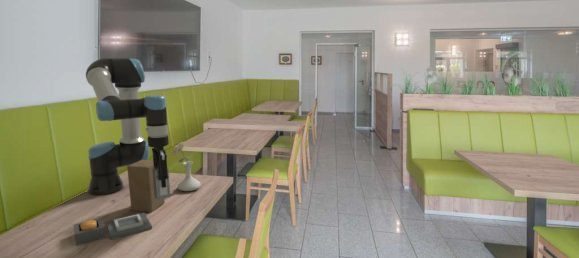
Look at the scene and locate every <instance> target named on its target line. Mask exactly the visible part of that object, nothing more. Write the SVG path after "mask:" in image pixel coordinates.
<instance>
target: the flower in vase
mask: <svg viewBox="0 0 579 258" xmlns="http://www.w3.org/2000/svg"><path fill="white" fill-rule="evenodd" d="M184 146H185V142H183V141H180V142H178V144H177V146H174V150H173V152H172V155H173V156H177V155H179V154H180V153H182V156H183V157H181V158H180V159H179V160H178V163H182V165H183V166H184V168H185V177H184V178H183V180H181V181H180V182H179V183H178V184H177V187H176V188H177V189H178V190H179V191H182V192H183V191H184V192H190V191H194V190H195V191H196V190H199V188H200V187H201V186H202V184H201V182H200V181H199V180H197V179H196V178H194V177H193V176H192V172H191V168H192V165H193V163H194V162H193V161H192V160H191V158H192V156H191V154H190V153H189V154H188V155H187V156H185V154H184V152H183V149H184ZM184 160H185V161H184ZM189 160H191V161H189ZM183 161H184V162H183Z"/></svg>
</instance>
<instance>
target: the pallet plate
mask: <svg viewBox="0 0 579 258" xmlns="http://www.w3.org/2000/svg"><path fill="white" fill-rule="evenodd" d="M106 227H107V231H108V234H109V237H110V240H114V239H118V238H121V237H125V236H130V235H133V234H137V233H142V232H146V231H149V230H152V229H153V226H152V224H151V222H150V219H148V216H147V215H146V212H142V213H137V214H133V215H128V216H124V217H121V218H120V217H119V218H115V219H111V220H107V221H106Z"/></svg>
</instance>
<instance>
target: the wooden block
mask: <svg viewBox="0 0 579 258" xmlns="http://www.w3.org/2000/svg"><path fill="white" fill-rule="evenodd" d="M152 167H154V165H153V159H152V160H151V159H150V160H149V159H147V160H140V161H138V162H136V163H133V164H131V165H129V166H126V168H127V178H128V179H127V180H128V189H129V197H130V209H131V211H136V212H143V213H146V212H147V213H153V212H154V211H156V210H157V209H158V208H160V207H161V206H162V205H165V203H166V202H165V201H166V200H165V198H164V199H159V200H157V199H156V197H155V196H154V184H153V172H152Z"/></svg>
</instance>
